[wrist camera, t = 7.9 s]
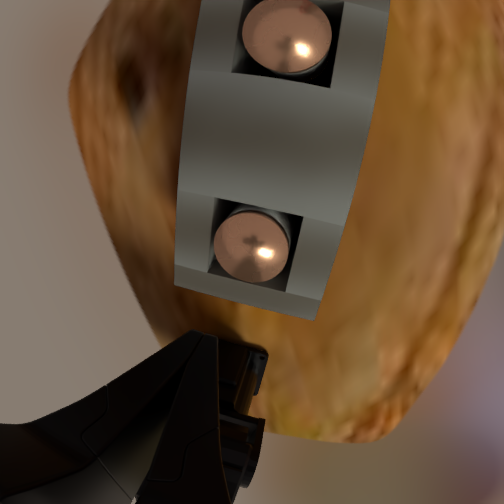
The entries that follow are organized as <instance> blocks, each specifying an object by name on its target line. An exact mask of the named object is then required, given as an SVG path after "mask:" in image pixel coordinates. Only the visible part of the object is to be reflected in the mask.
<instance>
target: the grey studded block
mask: <svg viewBox="0 0 504 504" xmlns="http://www.w3.org/2000/svg"><path fill="white" fill-rule="evenodd" d="M262 1H264V0H202V2H201V7H200V12H199V17H198V23H197V28H196V34H195V40H194V46H193V52H192V59H191V65H190V72H189V79H188V87H187V95H186V103H185V111H184V120H183V130H182V140H181V151H180V163H179V176H178V191H177V208H176V230H175V263H174V285H176V286H180V287H183V288H187V289H190V290H194V291H197V292H201V293H205V294H208V295H212V296H216V297H219V298H223V299H227V300H231V301H235V302H238V303H242V304H246V305H250V306H254V307H258V308H262V309H266V310H270V311H274V312H278V313H282V314H287V315H291V316H295V317H299V318H304V319H308V320H313V321H314V319H315V317H316V314H317V311H318V308H319V305H320V302H321V299H322V296H323V293H324V290H325V287H326V284H327V281H328V278H329V275H330V272H331V269H332V266H333V263H334V260H335V256H336V253H337V250H338V247H339V243H340V240H341V237H342V233H343V230H344V226H345V223H346V219H347V216H348V212H349V209H350V205H351V201H352V198H353V194H354V190H355V186H356V182H357V178H358V175H359V171H360V166H361V162H362V158H363V154H364V150H365V145H366V141H367V137H368V132H369V128H370V123H371V118H372V113H373V108H374V103H375V98H376V93H377V88H378V82H379V77H380V71H381V65H382V59H383V53H384V46H385V39H386V32H387V24H388V16H389V8H390V0H309V1H310V2H312V3H314V4H315V5H316V6H318V7H319V8H320V9H321V10H322V11H323V12H324V14H325V15H326V17H327V18H328V20H329V23H330V26H331V31H333V32H338V35H337V41H336V48H335V54H334V60H333V65H332V71H331V77H330V82H329V88H325V87H321V86H316V85H311V84H306V83H301V82H295V81H290V80H284V79H277V78H271V77H264V76H259V75H260V69H261V64H260V63H258V62H257V61H256V60H254V59H253V57H252V56H251V55H250V54H249V53H248V51H247V49H246V47H245V45H244V42H243V36H242V31H243V25H244V21H245V19H246V17H247V15H248V14H249V12H250V11H251V10H252V9H253V8H254V7H255V6H256V5H258V4H259V3H261V2H262ZM239 202H240V203H245V204H250V205H254V206H259V207H264V208H268V209H273V210H277V211H282V212H286V213H290V214H295V215H299V216H302V219H301V223H300V227H299V232H298V236H297V240H296V243H295V242H291V245H290V250H289V254H288V258H287V261H286V264H285V266H284V268H283V269H282V271H281V272H280V273H279V274H278V275H276V276H275V277H273V278H272V279H270V280H267V281H264V282H246V281H242V280H239V279H237V278H235V277H233V276H232V275H230V274H229V273H228V272H226V271H225V270H224V269H223V267H222V266H221V265H220V263H219V262H218V260H217V258H216V255H215V252H214V238H215V234H216V232H217V230H218V228H219V227H220V226H221V224H222V223H223V222H224V221H225V219H226V218H227V217H228V216H229V215H230V213H231V212H232V211H233V210H234V208H235V207H236V206H237V205H238V204H239Z"/></svg>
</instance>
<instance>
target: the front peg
mask: <svg viewBox="0 0 504 504" xmlns="http://www.w3.org/2000/svg"><path fill="white" fill-rule="evenodd" d="M242 36H243V42H244V45H245V47H246V49H247V51H248V53H249V54H250V55H251V56H252V57H253V59H254V60H256V61H257V62H258V63H260V64H261V65H263V66H264V67H266V68H267V69H268V70H270V71H271V72H273V73H274V74H276V75H277V76H279V77H280V78H282V79H284V80H290V81H295V82H306V81H310V80H312V79H314V78H316V77H317V76H319V75H320V74H321V73H322V72H323V71H324V69H325V67H326V65H327V63H328V58H329V51H330V45H331V36H332V33H331V26H330V23H329V20H328V18H327V17H326V15H325V14H324V12H323V11H322V10H321V9H320V8H319V7H318V6H316V5H315V4H314V3H312V2H310V1H309V0H264V1H262V2H261V3H259V4H258V5H256V6H255V7H254V8H253V9H252V10H251V11H250V12H249V14H248V15H247V17H246V19H245V21H244V25H243V31H242Z"/></svg>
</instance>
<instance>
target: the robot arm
mask: <svg viewBox="0 0 504 504" xmlns="http://www.w3.org/2000/svg"><path fill="white" fill-rule="evenodd" d="M262 356H264V357H262ZM268 356H269V355H268V353H267V352H265V351H261V350H258V349H254V348H250V347H246V346H242V345H238V344H235V343H231V342H227V341H224V340H220V339H218V337H217V336H214V335H211V334H207V333H206V334H204V333H203V332H200V331H197V330H194V329H192V330H189V331H188V332H186V333H185V334H183V335H182V336H180V337H179V338H177V339H176V340H174V341H173V342H171V343H170V344H168V345H167V346H165V347H164V348H162V349H161V350H159V351H158V352H156V353H154V354H153V355H151V356H150V357H148V358H147V359H145V360H144V361H142V362H141V363H139V364H138V365H136V366H135V367H133V368H131V369H130V370H128V371H127V372H125V373H123V374H122V375H120V376H119V377H117V378H116V379H114V380H112V381H111V382H110V383H108V384H107V386H103V387H101V388H100V389H98V390H96V391H95V392H93V393H91V394H90V395H88V396H86V397H84V398H83V399H81V400H79V401H77V402H75V403H73V404H71V405H69V406H66V407H64V408H62V409H60V410H58V411H56V412H53V413H51V414H49V415H46V416H44V417H42V418H39V419H37V420H34V421H32V422H28V423H23V424H2V423H0V504H131V502H132V500H133V498H134V497H135V498H136V503H135V504H233V502H234V500H235V497H236V494H237V492H238V489H239V487H243V488H247V487H248V486H249V484H250V482H251V480H252V478H253V475H254V472H255V470H256V466H257V463H258V459H259V455H260V449H261V444H262V438H263V432H264V426H265V419H262V418H259V419H258V418H255V417H251V416H248V411H249V408H250V404H251V401H252V397H253V396H255V395H257V394H258V391H259V388H260V384H261V381H262V377H263V374H264V371H265V367H266V364H267V360H268Z"/></svg>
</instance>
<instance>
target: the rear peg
mask: <svg viewBox="0 0 504 504" xmlns="http://www.w3.org/2000/svg"><path fill="white" fill-rule="evenodd" d="M296 220H297V215H295V214H290V213H286V212H282V211H277V210H273V209H268V208H264V207H259V206H254V205H250V204H245V203H240V202H239V204H238V205H237V206H236V207H235V208H234V210H233V211H232V212H231V213H230V215H229V216H228V217H227V218H226V219H225V221H224V222H223V223H222V224H221V226H220V227H219V228H218V230H217V232H216V234H215V238H214V252H215V255H216V258H217V260H218V262H219V263H220V265H221V266H222V267H223V269H224V270H225V271H226V272H228V273H229V274H230V275H232V276H233V277H235V278H237V279H239V280H242V281H246V282H264V281H267V280H270V279H272V278H273V277H275V276H276V275H278V274H279V273H280V272H281V271H282V269H283V268H284V266H285V264H286V261H287V258H288V254H289V250H290V245H291V241H292V237H293V233H294V229H295V224H296Z"/></svg>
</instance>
